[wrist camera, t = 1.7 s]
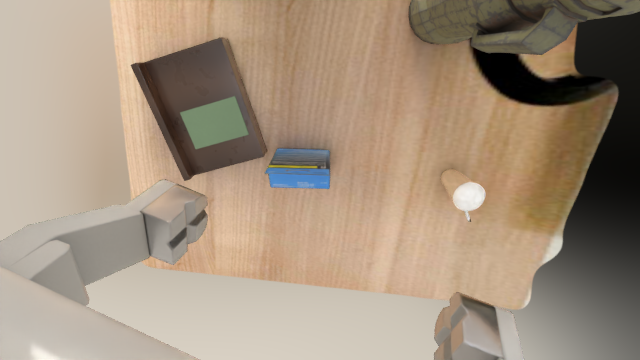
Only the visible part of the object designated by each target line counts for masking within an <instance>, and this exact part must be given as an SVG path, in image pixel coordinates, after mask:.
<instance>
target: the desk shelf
mask: <svg viewBox="0 0 640 360" xmlns="http://www.w3.org/2000/svg"><path fill="white" fill-rule="evenodd" d="M131 67H132V69H133V71H134V73H135V75H136V77H137V80H138V82H139V84H140V86H141V88H142V90H143V93H144V95H145V97H146V99H147V101H148V103H149V105H150V108H151V110H152V112H153V114H154V116H155V118H156V121H157V123H158V125H159V127H160V129H161V131H162V134H163V136H164V138H165V140H166V142H167V144H168V147H169V149H170V151H171V153H172V155H173V157H174V159H175V162H176V164H177V166H178V168H179V170H180V172H181V175H182V177H183V179H184V181H185V180H189V179H191V178H192V177H193V176H194V175H196V174H200V173H204V172H208V171H211V170H215V169H219V168H222V167H226V166H230V165H234V164H237V163H241V162H245V161H249V160H252V159H256V158H260V157H263V156H264V155H265V154H266V152H267V149H266V147H265V144H264V141H263V138H262V135H261V132H260V130H259V127H258V124H257V121H256V118H255V115H254V113H253V110H252V107H251V104H250V101H249V98H248V96H247V93H246V90H245V87H244V84H243V81H242V79H241V76H240V73H239V70H238V67H237V64H236V62H235V59H234V56H233V53H232V50H231V47H230V45H229V42H228V39H226V38H219V39H215V40H212V41H209V42H206V43H203V44H200V45H197V46H194V47H191V48H188V49H185V50H181V51H178V52H175V53H172V54H169V55H166V56H163V57H160V58H157V59H154V60H151V61H147V62H144V63H135V64H132V65H131Z"/></svg>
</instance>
